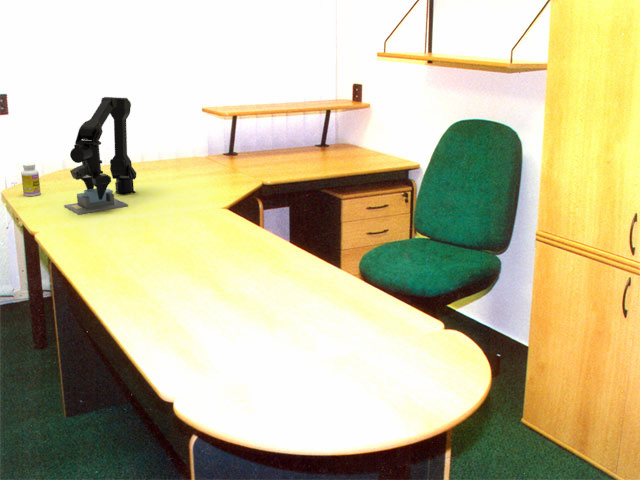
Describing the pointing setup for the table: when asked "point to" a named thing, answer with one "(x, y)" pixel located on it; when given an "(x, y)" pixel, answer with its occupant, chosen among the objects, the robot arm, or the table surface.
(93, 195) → the block
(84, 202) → the chassis plate
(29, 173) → the supplement bottle
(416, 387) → the table surface
